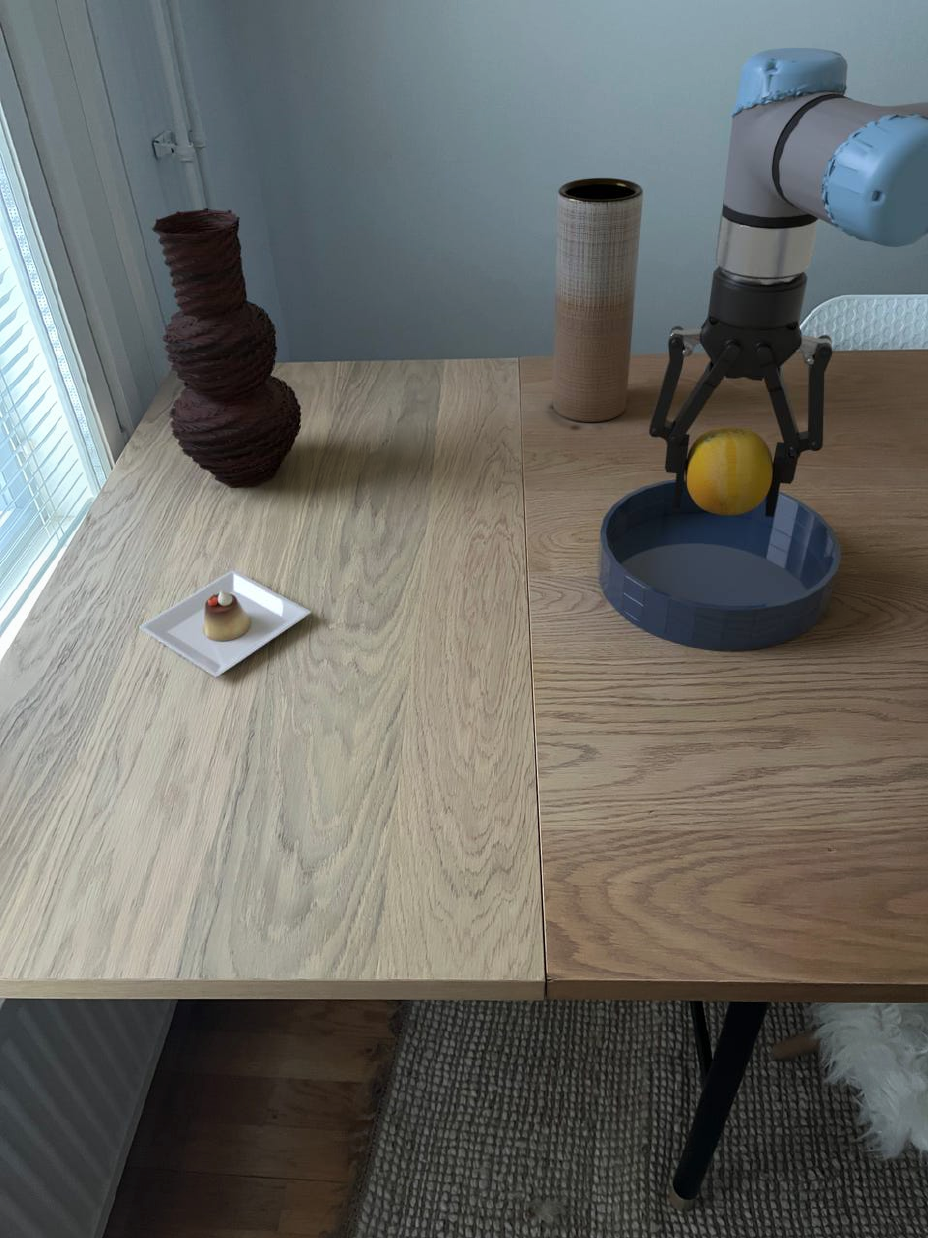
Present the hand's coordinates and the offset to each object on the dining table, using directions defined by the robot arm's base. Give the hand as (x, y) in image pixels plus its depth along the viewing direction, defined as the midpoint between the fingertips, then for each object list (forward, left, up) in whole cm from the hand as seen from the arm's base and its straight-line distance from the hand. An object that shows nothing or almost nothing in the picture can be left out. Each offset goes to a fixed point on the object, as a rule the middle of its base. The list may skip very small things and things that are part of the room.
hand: (723, 504), depth 92 cm
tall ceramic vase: (+18, -36, -9) cm, 41 cm away
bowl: (0, 0, -9) cm, 9 cm away
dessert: (+46, +18, -9) cm, 50 cm away
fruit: (0, 0, 0) cm, 0 cm away
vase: (+57, -11, -9) cm, 59 cm away
